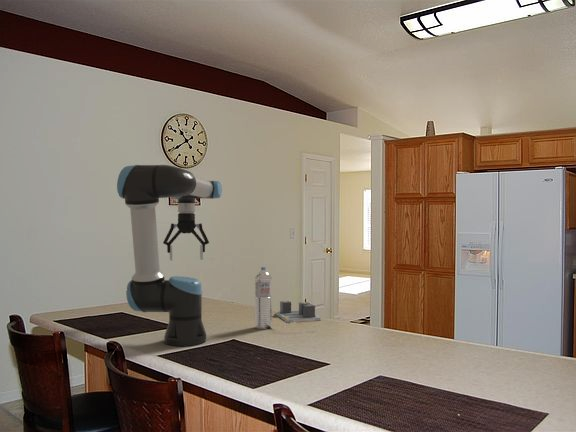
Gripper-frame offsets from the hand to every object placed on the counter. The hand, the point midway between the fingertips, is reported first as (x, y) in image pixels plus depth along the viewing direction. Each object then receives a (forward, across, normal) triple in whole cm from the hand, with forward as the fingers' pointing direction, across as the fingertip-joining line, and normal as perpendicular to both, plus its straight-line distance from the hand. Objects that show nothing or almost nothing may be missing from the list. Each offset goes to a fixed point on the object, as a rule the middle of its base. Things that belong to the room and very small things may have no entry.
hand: (186, 259), depth 224 cm
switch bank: (+26, -46, +21) cm, 57 cm away
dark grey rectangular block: (+25, -49, +27) cm, 61 cm away
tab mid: (+25, -49, +21) cm, 59 cm away
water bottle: (+27, -27, +30) cm, 48 cm away
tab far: (+25, -43, +14) cm, 51 cm away
